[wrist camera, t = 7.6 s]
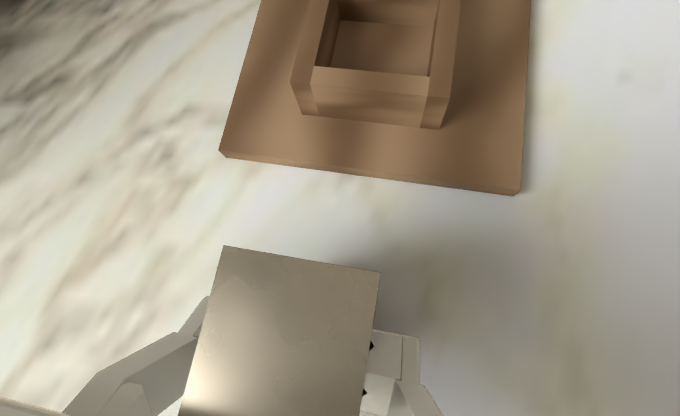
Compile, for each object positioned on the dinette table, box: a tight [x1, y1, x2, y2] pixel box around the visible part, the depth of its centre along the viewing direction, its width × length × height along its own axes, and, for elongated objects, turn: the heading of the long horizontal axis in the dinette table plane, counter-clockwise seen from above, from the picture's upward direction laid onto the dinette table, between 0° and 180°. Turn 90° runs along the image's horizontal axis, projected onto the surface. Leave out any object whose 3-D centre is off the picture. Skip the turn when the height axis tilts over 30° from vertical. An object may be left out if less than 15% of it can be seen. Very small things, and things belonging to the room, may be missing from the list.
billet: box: [178, 245, 381, 416], centre depth 13 cm, size 4×4×9 cm
